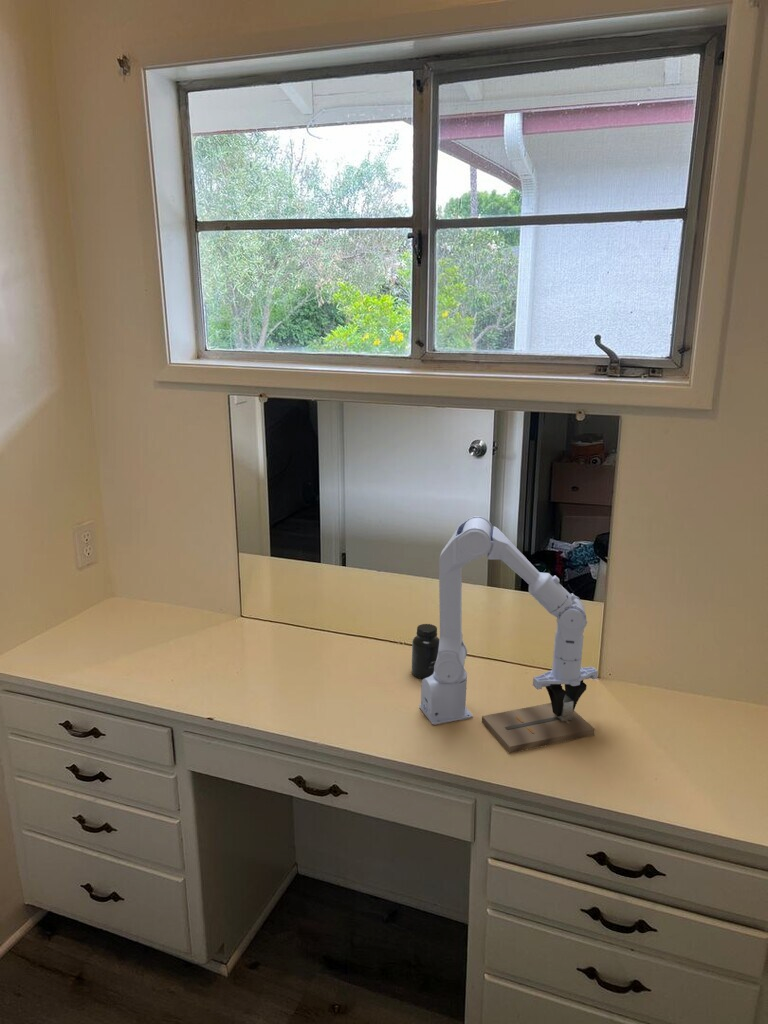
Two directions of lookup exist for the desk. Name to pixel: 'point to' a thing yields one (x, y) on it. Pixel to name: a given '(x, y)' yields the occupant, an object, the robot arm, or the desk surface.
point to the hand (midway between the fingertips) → (562, 712)
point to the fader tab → (566, 709)
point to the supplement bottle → (424, 651)
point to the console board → (534, 728)
